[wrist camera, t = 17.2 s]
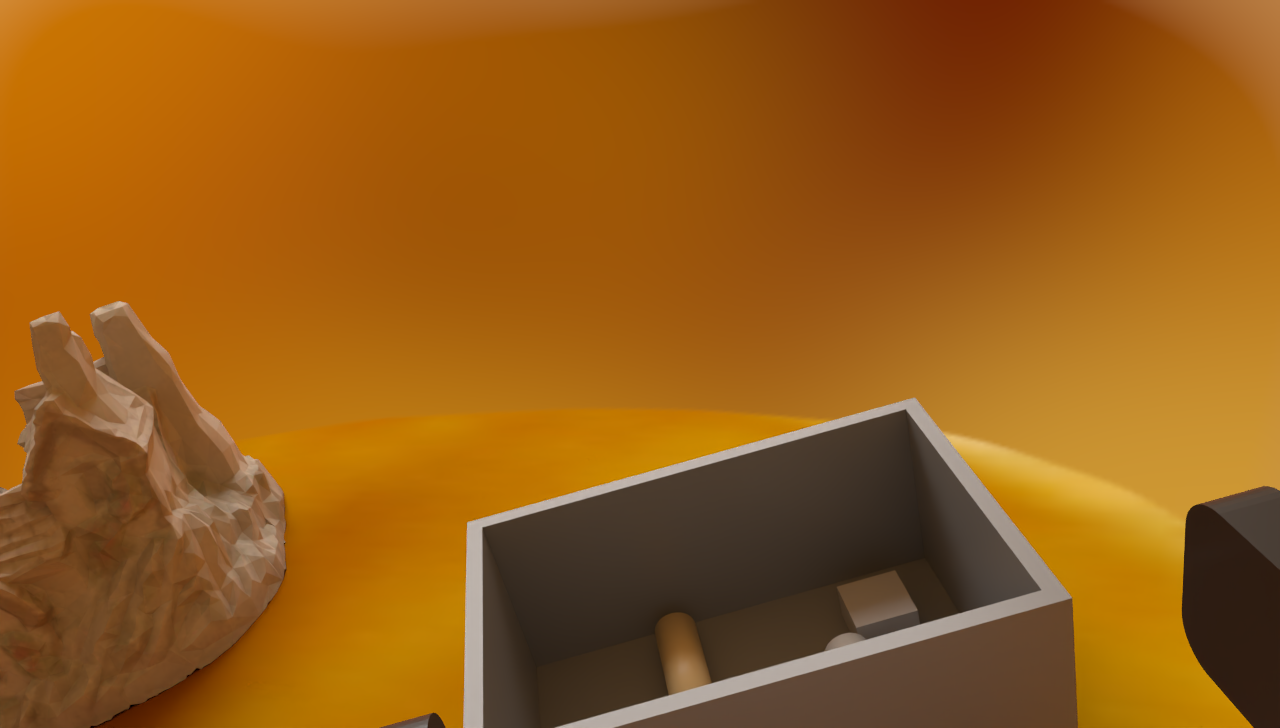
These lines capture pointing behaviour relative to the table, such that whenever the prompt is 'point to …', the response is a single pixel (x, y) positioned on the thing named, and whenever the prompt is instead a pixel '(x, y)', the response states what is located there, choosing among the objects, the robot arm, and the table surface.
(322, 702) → the table surface
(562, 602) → the tub
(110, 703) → the beige rock formation
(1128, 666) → the table surface
